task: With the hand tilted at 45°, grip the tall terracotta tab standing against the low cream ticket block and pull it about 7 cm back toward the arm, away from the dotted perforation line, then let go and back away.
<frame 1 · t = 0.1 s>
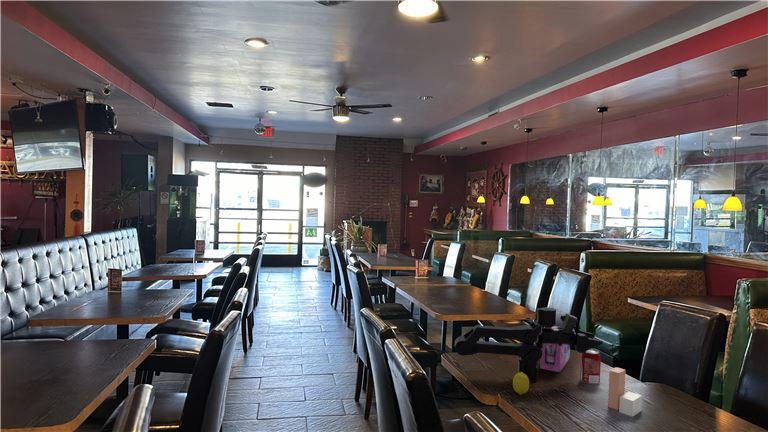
hand: (598, 339, 175), 17 cm above the table, tool horizontal, fingers open, 9 cm apart
lemon: (520, 395, 163), on the table
stub: (616, 388, 154), point 7 cm above the table, slide at 0.0 cm
gum box: (555, 363, 198), on the table
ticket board: (608, 405, 156), on the table
soda can: (589, 383, 176), on the table
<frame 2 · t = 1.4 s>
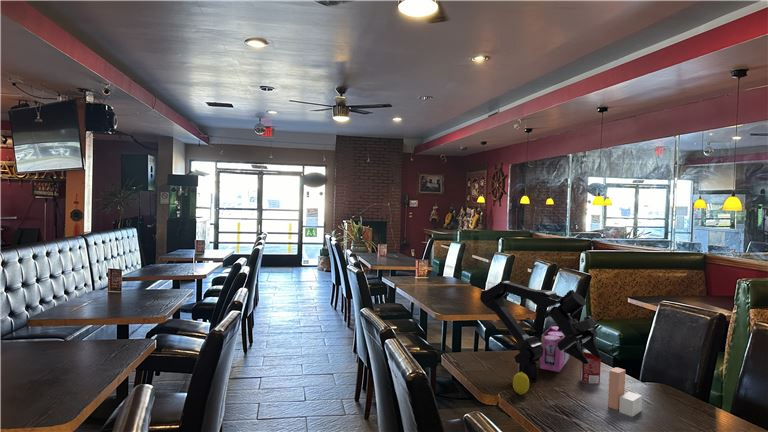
hand: (593, 360, 160), 13 cm above the table, tool tilted 45°, fingers open, 9 cm apart
nothing on the table moved.
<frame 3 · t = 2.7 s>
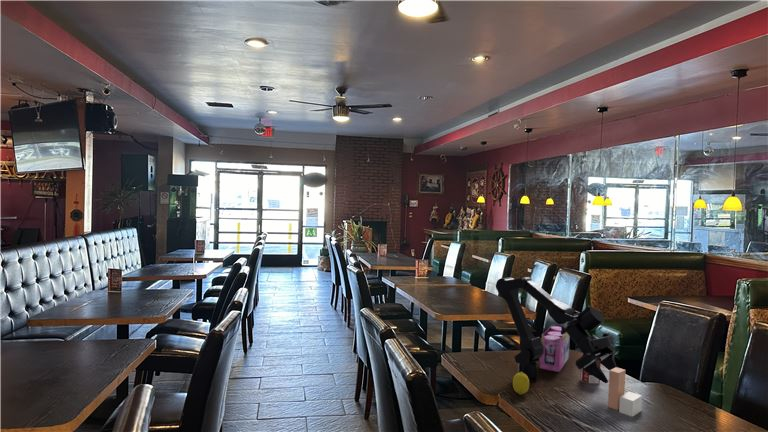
hand: (613, 379, 155), 9 cm above the table, tool tilted 45°, fingers open, 9 cm apart
nothing on the table moved.
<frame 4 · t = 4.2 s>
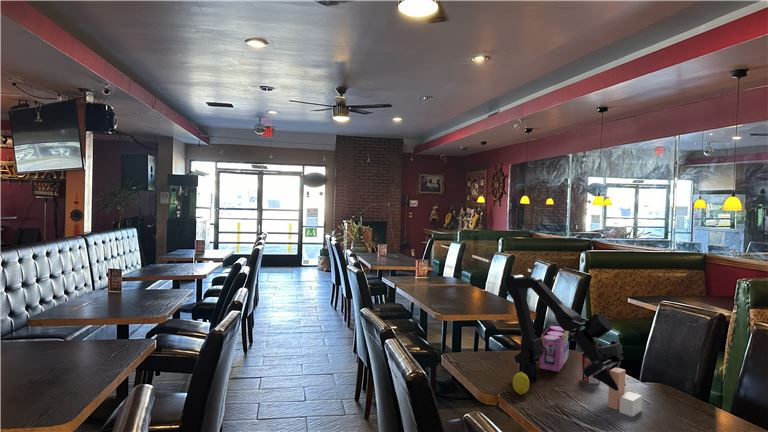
hand: (621, 388, 153), 7 cm above the table, tool tilted 45°, fingers closed on stub, 5 cm apart
stub: (616, 388, 154), point 7 cm above the table, slide at 0.0 cm, touching gripper
everything else where it was.
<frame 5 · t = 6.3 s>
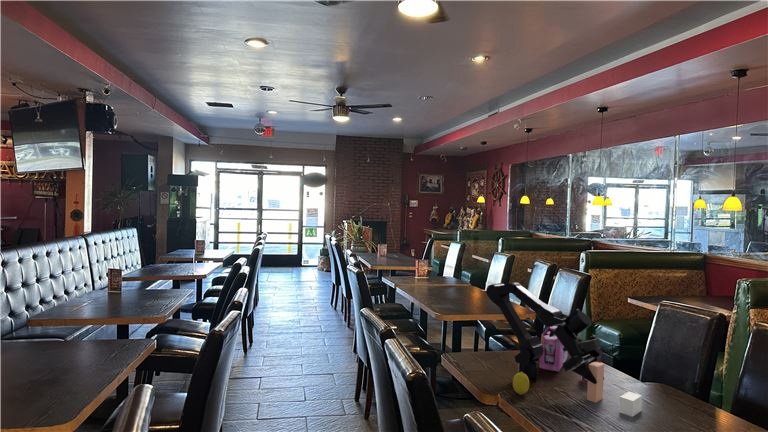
hand: (599, 381, 158), 7 cm above the table, tool tilted 45°, fingers closed on stub, 5 cm apart
stub: (595, 381, 159), point 7 cm above the table, slide at 6.9 cm, touching gripper
everything else where it was.
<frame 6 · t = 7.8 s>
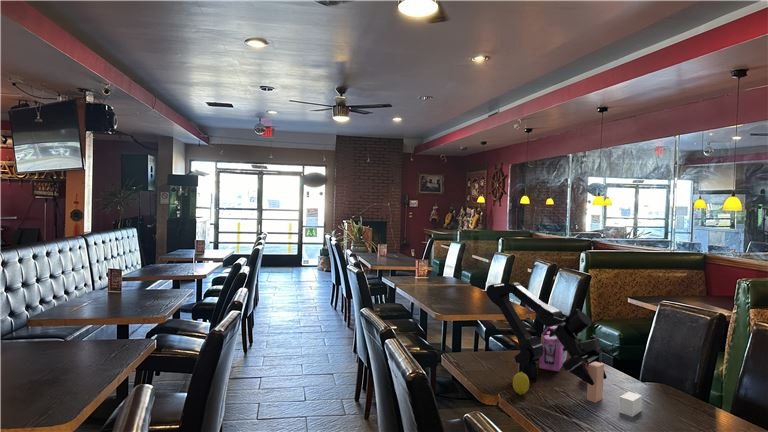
hand: (599, 381, 158), 7 cm above the table, tool tilted 45°, fingers open, 9 cm apart
stub: (595, 381, 159), point 7 cm above the table, slide at 7.0 cm
everything else where it was.
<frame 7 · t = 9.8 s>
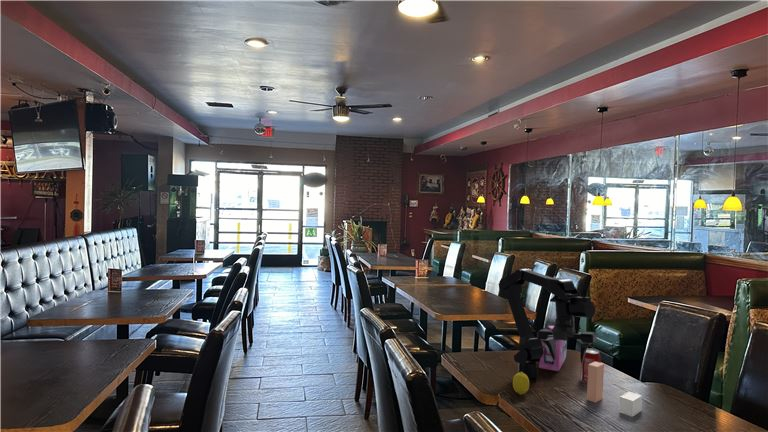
hand: (567, 361, 163), 12 cm above the table, tool pointing down, fingers open, 9 cm apart
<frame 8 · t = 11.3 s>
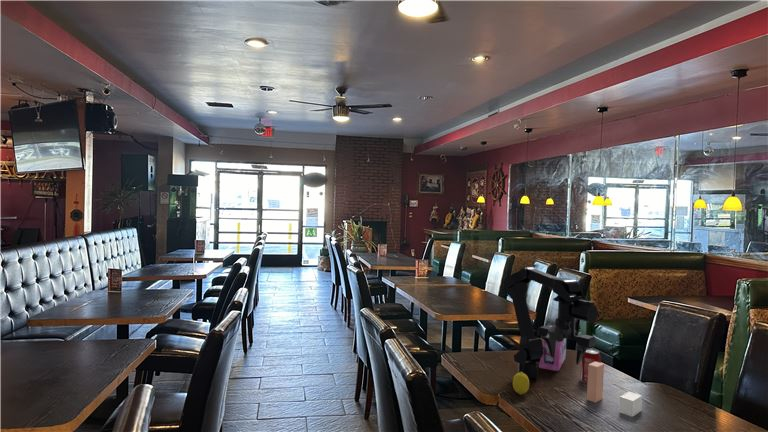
hand: (564, 360, 164), 12 cm above the table, tool pointing down, fingers open, 9 cm apart
at the end: stub slide at 7.0 cm; the gripper is holding nothing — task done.
